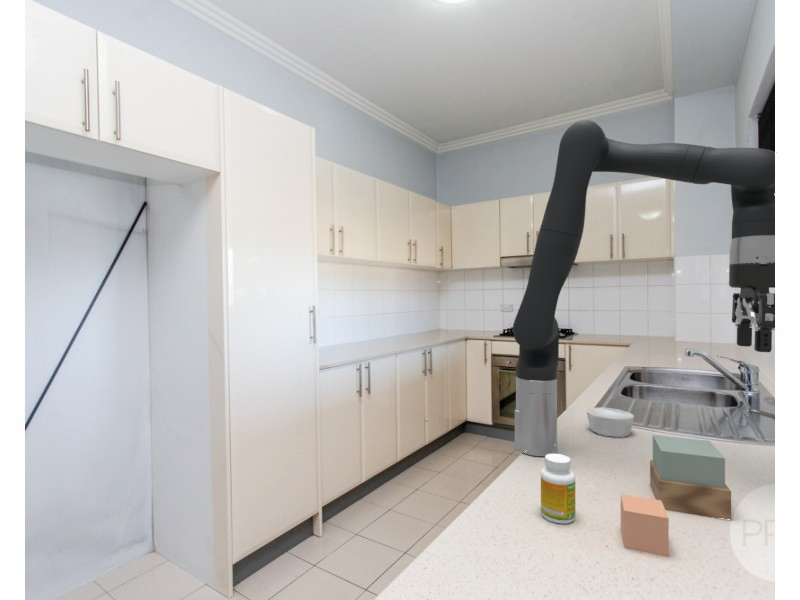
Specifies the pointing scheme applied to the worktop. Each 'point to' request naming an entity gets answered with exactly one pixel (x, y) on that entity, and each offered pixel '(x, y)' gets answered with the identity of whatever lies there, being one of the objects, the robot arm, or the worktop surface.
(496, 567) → the worktop surface
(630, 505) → the terracotta cube
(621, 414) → the ramekin
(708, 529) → the worktop surface
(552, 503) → the supplement bottle
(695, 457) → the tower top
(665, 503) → the tower base
